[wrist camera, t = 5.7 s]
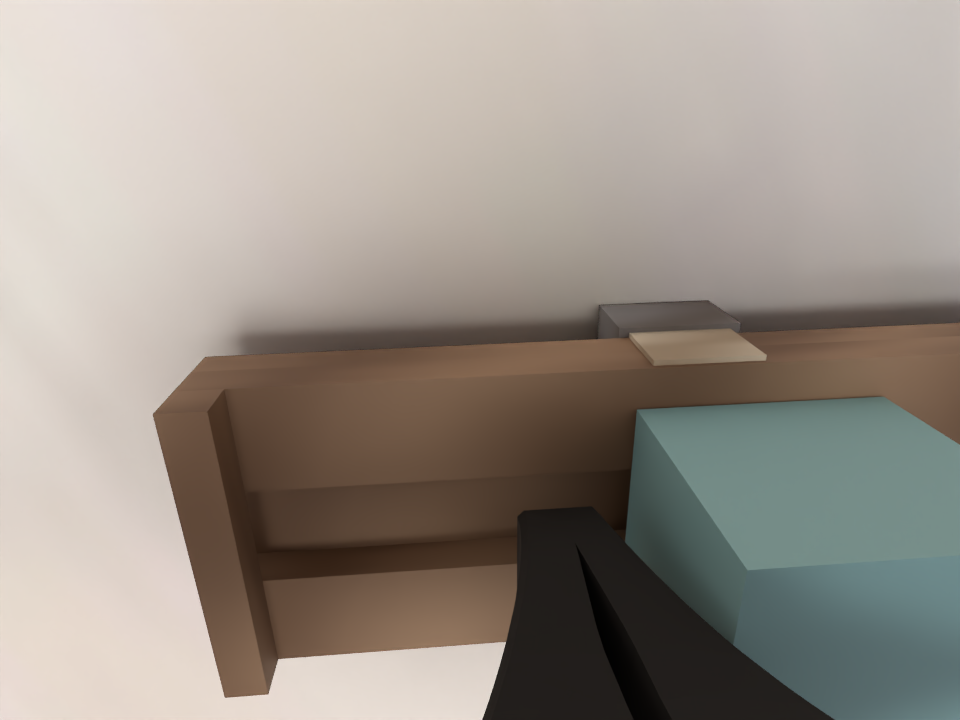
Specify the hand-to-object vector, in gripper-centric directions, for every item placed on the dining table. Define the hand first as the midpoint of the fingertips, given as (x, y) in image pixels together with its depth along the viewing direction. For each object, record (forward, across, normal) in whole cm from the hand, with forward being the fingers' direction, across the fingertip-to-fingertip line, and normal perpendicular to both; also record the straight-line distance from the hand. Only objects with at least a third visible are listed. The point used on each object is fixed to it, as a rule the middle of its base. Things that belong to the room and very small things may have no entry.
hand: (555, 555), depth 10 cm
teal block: (+2, -4, 0) cm, 4 cm away
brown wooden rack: (+4, -3, 0) cm, 5 cm away
